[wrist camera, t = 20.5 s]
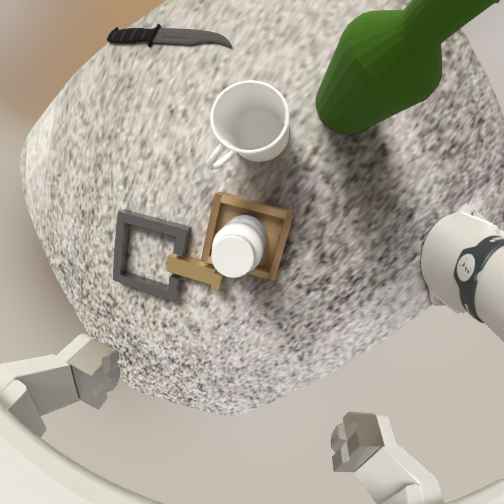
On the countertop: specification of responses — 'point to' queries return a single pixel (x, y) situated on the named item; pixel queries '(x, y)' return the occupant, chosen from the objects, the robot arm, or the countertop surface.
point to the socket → (121, 247)
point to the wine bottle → (389, 61)
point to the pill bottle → (238, 246)
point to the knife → (165, 36)
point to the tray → (268, 215)
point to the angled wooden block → (195, 270)
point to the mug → (249, 122)
